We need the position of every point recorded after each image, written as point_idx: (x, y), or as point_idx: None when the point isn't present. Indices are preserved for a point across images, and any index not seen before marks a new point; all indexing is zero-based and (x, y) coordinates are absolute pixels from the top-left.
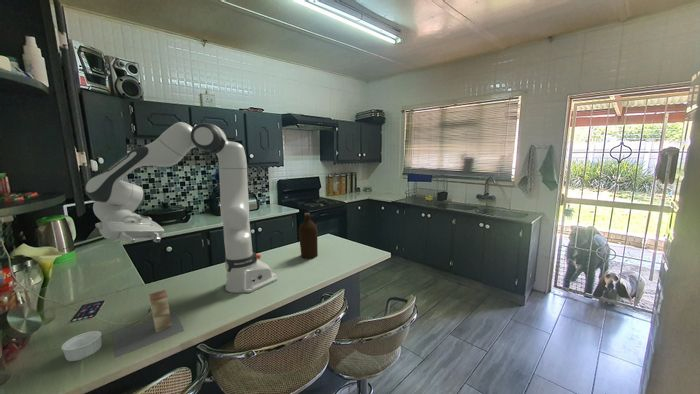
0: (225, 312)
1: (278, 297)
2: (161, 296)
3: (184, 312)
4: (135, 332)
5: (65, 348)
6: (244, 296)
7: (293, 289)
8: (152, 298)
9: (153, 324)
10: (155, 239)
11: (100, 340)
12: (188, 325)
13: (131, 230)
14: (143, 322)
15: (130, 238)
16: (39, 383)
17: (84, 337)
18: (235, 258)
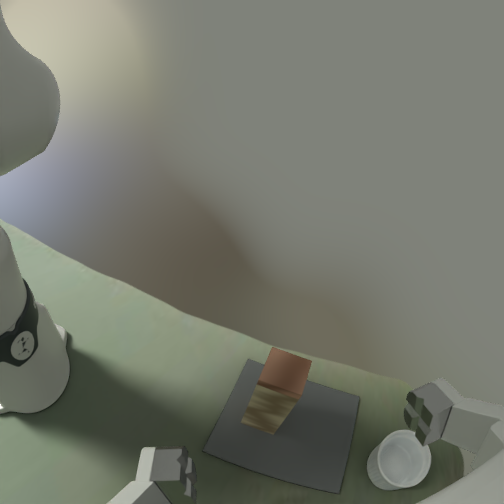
0: (157, 334)
1: (84, 273)
2: (286, 352)
3: (191, 427)
4: (309, 449)
5: (423, 462)
6: (83, 335)
7: (53, 262)
8: (307, 360)
9: (269, 445)
10: (186, 473)
11: (375, 450)
12: (228, 371)
13: (467, 480)
14: (278, 477)
15: (445, 380)
16: None
17: (396, 483)
18: (25, 289)
